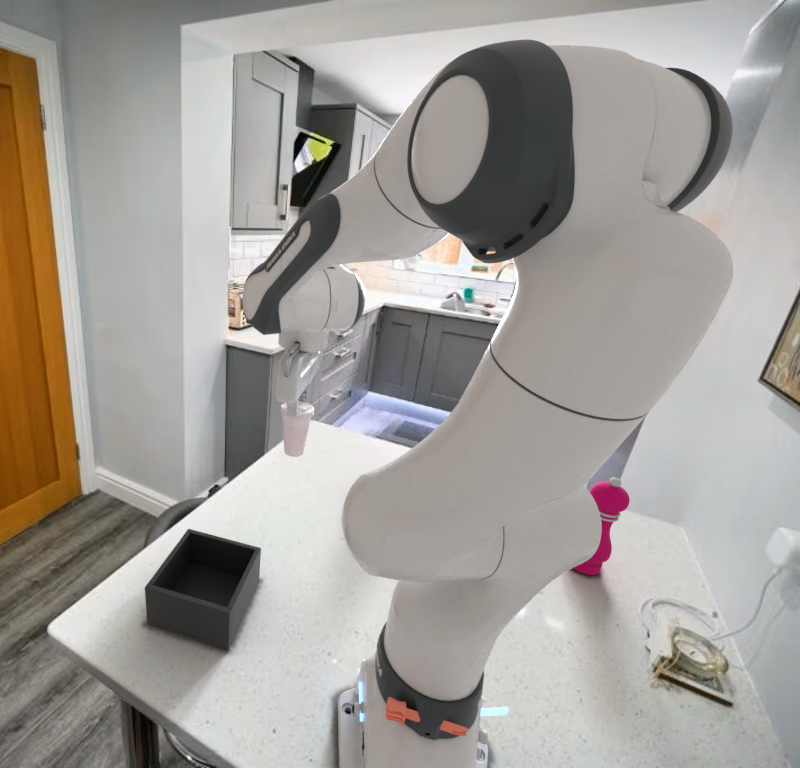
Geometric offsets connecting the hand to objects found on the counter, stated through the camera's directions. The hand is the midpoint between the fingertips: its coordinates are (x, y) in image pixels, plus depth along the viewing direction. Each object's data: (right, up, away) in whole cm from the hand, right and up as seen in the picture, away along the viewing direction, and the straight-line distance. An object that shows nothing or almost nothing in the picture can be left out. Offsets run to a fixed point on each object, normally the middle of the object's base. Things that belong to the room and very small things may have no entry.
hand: (297, 406), depth 82 cm
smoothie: (-1, -9, +3) cm, 10 cm away
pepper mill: (+57, -22, 0) cm, 61 cm away
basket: (-15, -32, -10) cm, 37 cm away
